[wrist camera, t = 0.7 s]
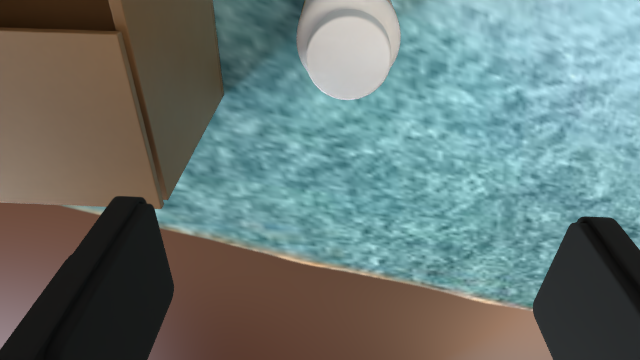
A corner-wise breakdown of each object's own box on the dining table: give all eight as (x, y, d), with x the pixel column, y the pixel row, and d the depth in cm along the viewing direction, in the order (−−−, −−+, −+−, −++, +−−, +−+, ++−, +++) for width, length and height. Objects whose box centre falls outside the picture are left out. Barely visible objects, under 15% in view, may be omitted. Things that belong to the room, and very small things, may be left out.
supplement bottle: (353, 64, 30) (357, 133, 22) (288, 16, 28) (268, 72, 20) (406, -2, 27) (433, 49, 19) (338, -59, 25) (337, -29, 17)
